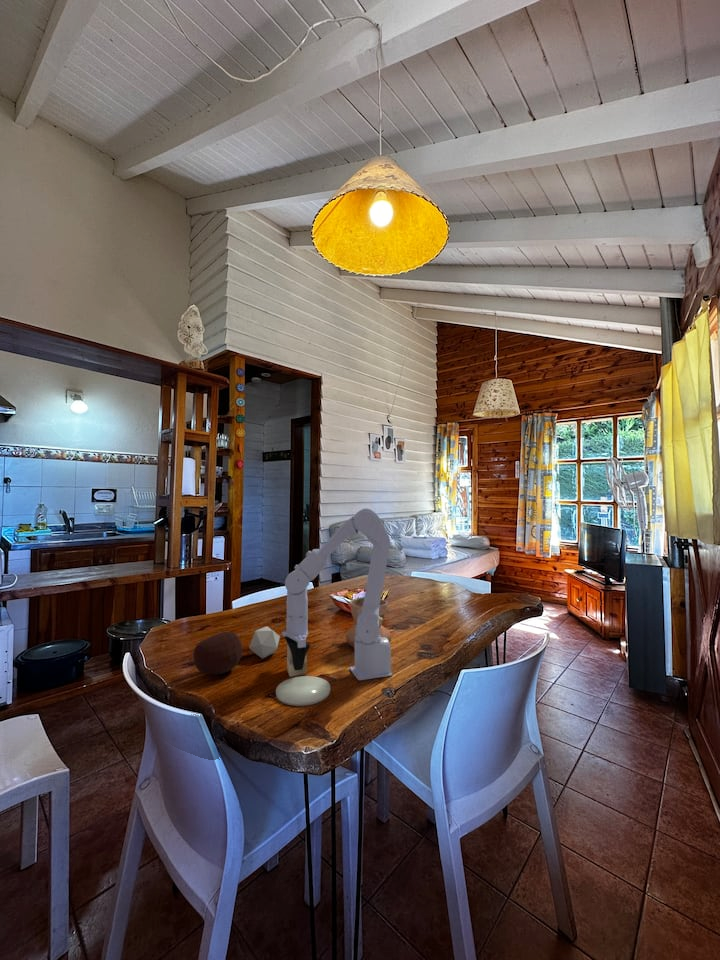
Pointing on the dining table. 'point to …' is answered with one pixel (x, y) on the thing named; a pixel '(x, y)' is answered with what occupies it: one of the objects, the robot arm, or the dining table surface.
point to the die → (264, 642)
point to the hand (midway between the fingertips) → (296, 665)
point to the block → (291, 668)
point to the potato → (218, 653)
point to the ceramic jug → (356, 609)
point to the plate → (303, 691)
